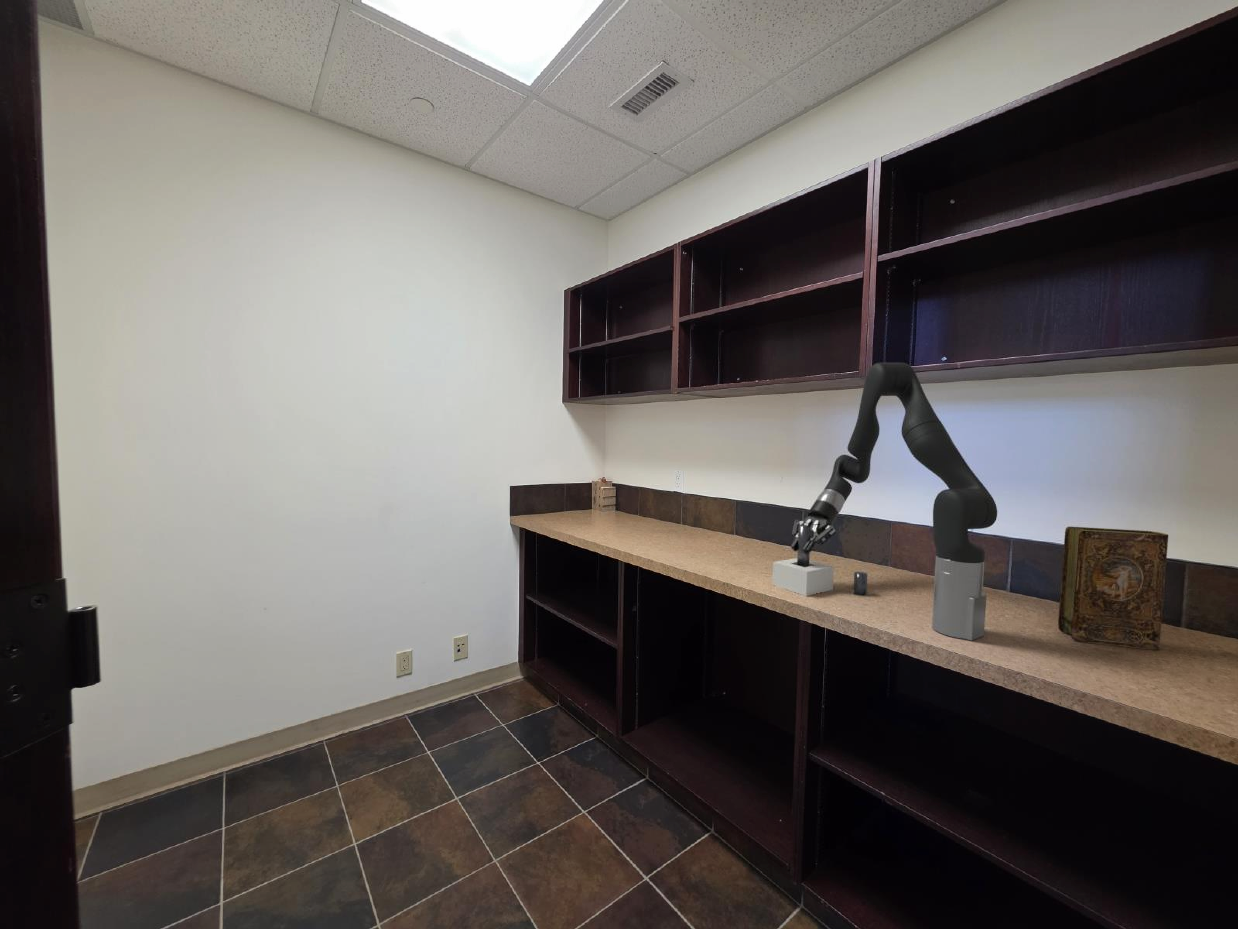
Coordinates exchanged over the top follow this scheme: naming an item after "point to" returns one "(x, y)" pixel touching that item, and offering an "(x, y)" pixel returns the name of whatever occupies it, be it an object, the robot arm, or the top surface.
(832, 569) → the hole block
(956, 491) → the robot arm
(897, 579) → the top surface
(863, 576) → the short pin
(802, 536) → the long pin
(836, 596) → the top surface
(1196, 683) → the top surface
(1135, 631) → the book
